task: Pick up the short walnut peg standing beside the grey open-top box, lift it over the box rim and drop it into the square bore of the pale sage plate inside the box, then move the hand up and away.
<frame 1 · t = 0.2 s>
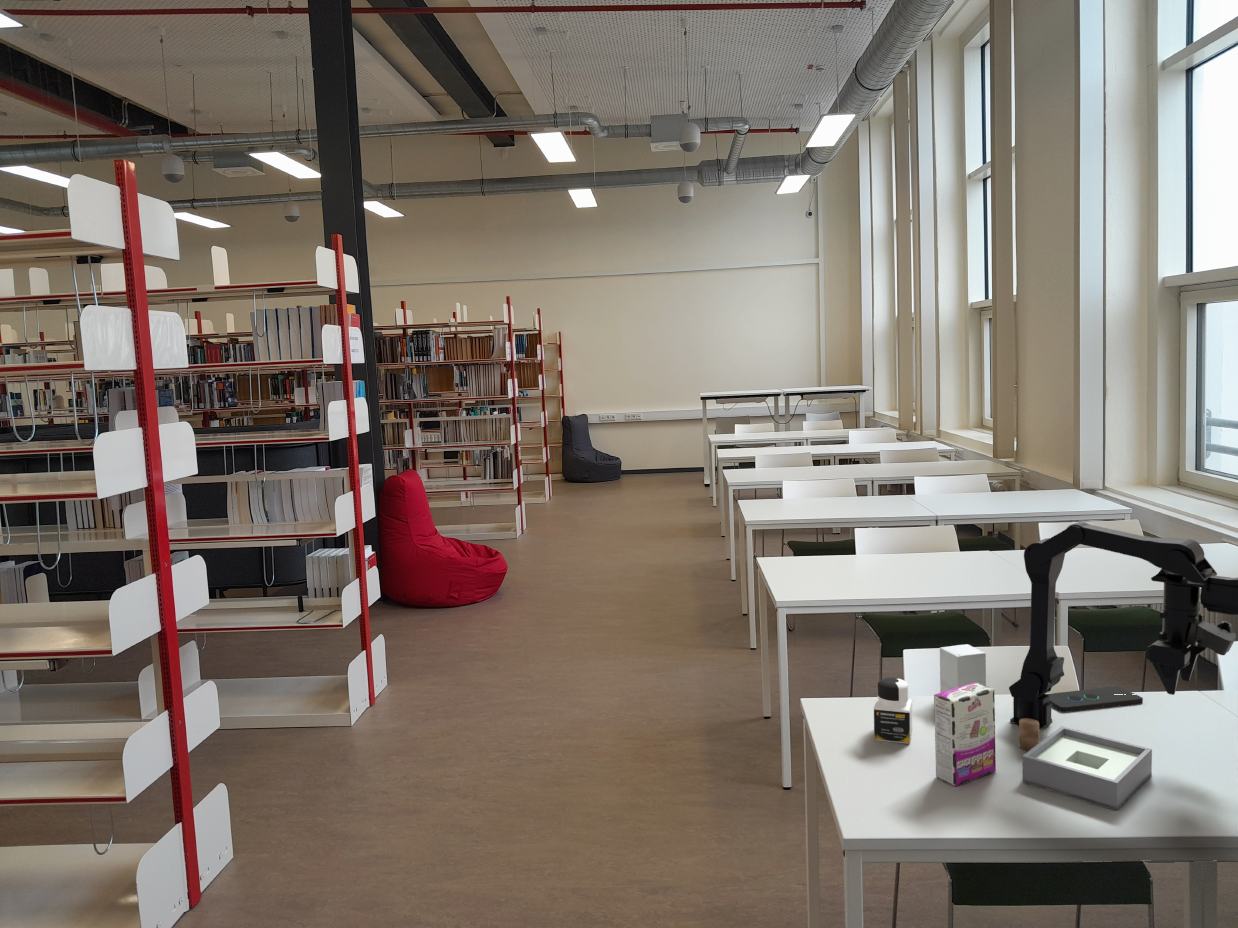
hand: (1178, 687, 168), 14 cm above the table, tool pointing down, fingers open, 9 cm apart
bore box: (1087, 778, 164), on the table
medicine bottle: (893, 736, 186), on the table
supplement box: (962, 704, 202), on the table
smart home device: (1091, 704, 200), on the table
peg: (1029, 748, 178), on the table
candy bar box: (965, 775, 168), on the table
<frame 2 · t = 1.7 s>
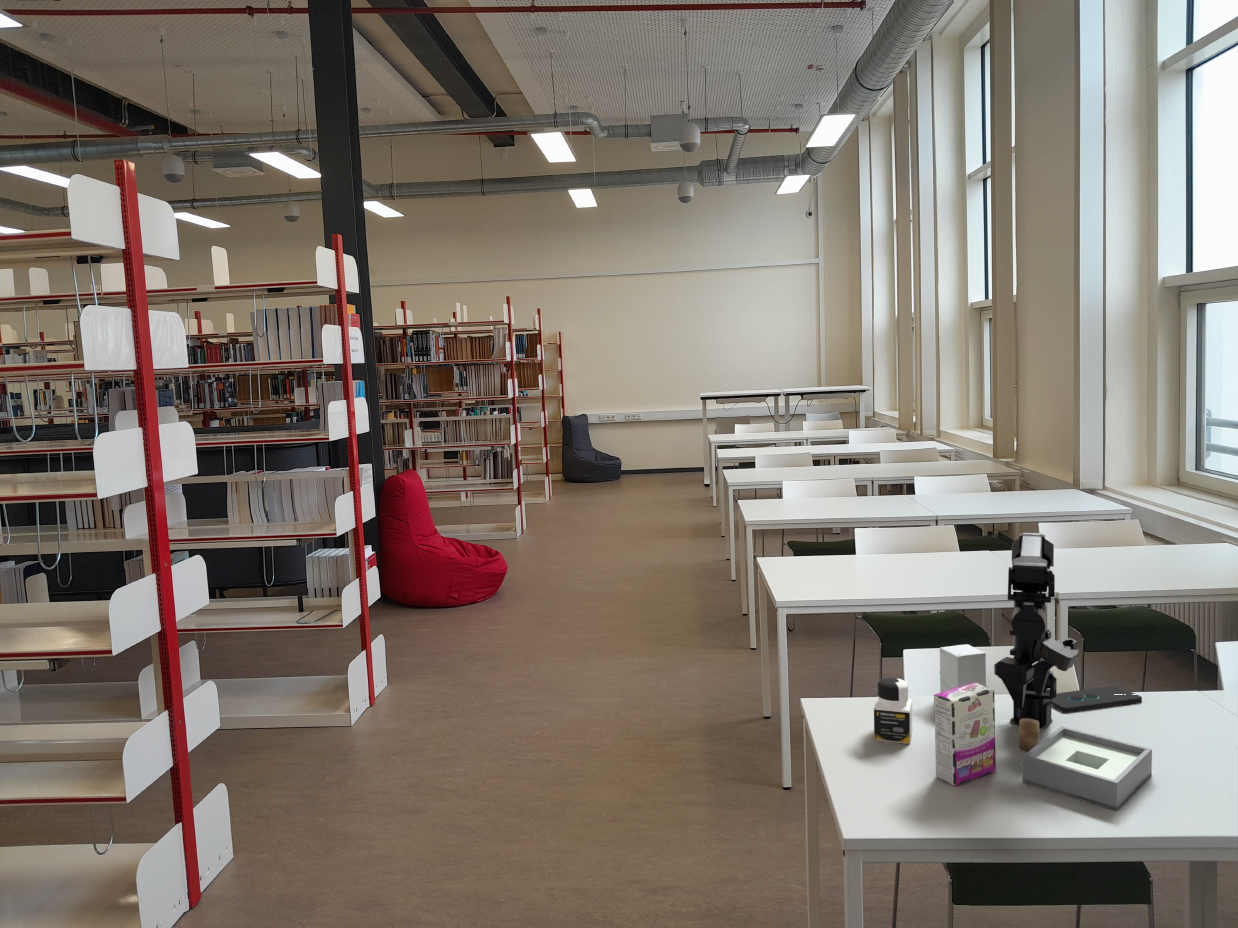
hand: (1029, 700, 177), 10 cm above the table, tool pointing down, fingers open, 9 cm apart
nothing on the table moved.
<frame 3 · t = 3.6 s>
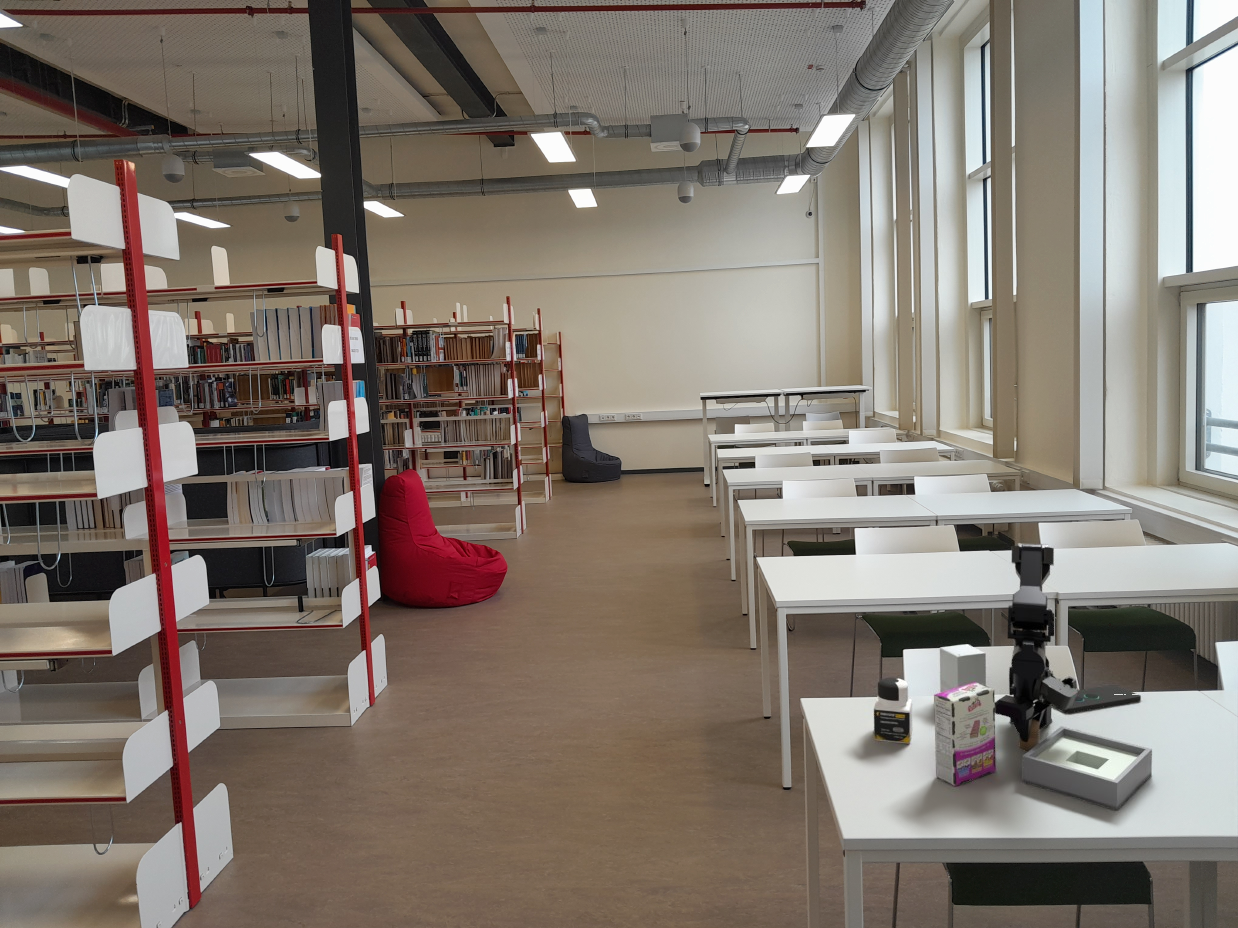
hand: (1029, 738, 177), 2 cm above the table, tool pointing down, fingers closed on peg, 4 cm apart
peg: (1029, 748, 178), on the table, touching gripper
everything else where it was.
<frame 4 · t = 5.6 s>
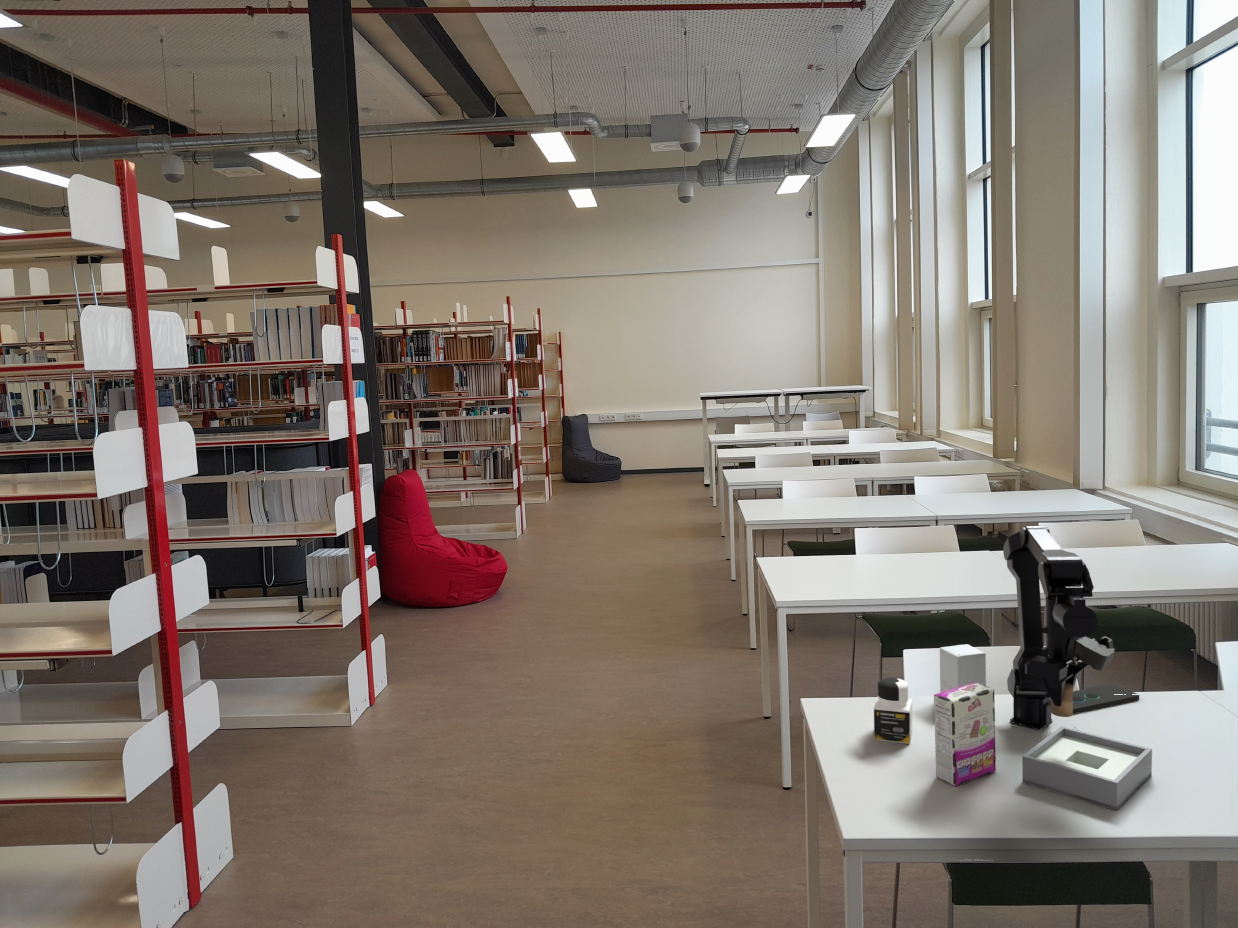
hand: (1062, 702, 168), 12 cm above the table, tool pointing down, fingers closed on peg, 4 cm apart
peg: (1061, 713, 168), point 10 cm above the table, touching gripper
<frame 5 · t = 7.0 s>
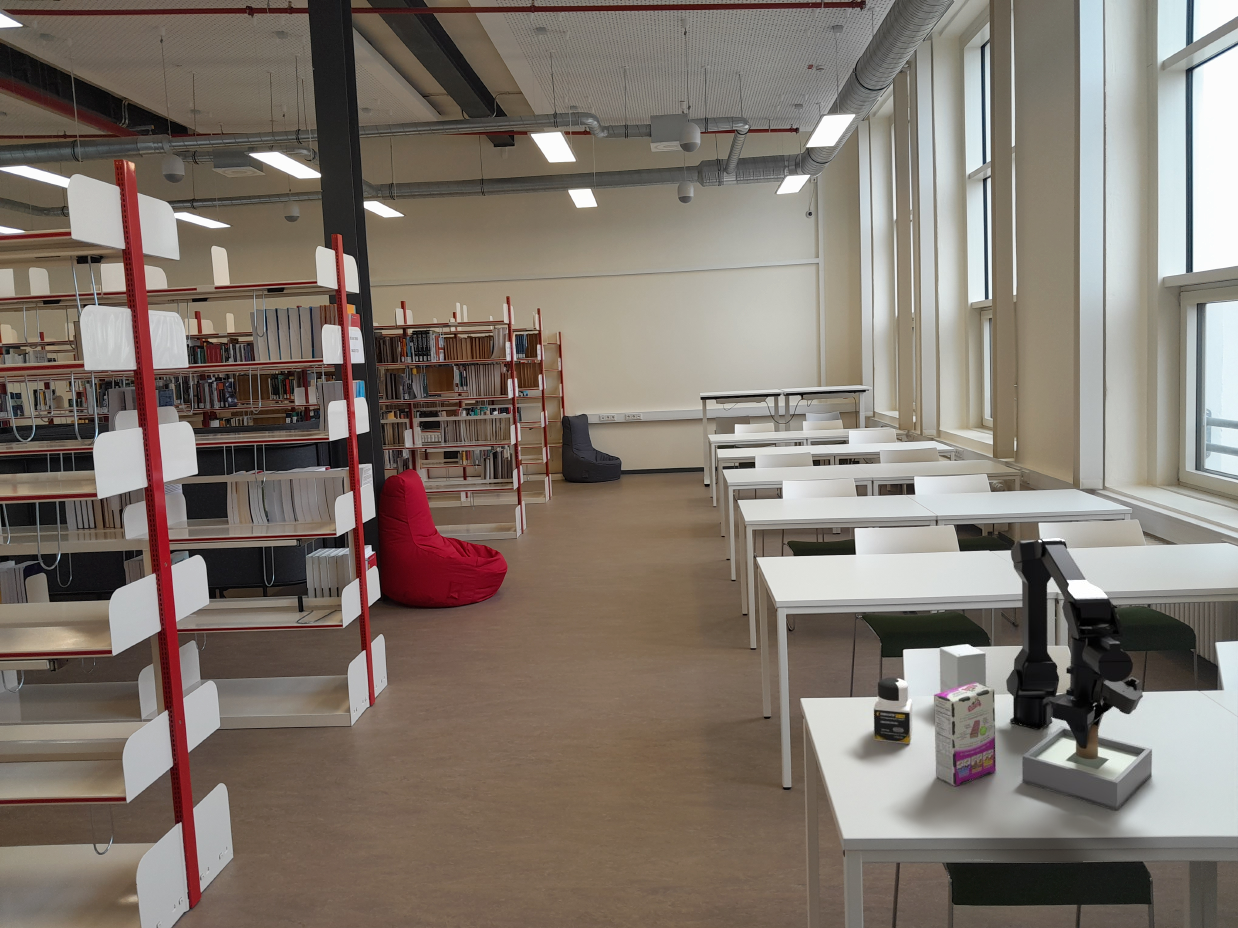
hand: (1087, 744, 163), 6 cm above the table, tool pointing down, fingers closed on peg, 4 cm apart
peg: (1086, 754, 164), point 4 cm above the table, touching gripper
when the fingers open (4 cm above the table, at t = 8.1 s): peg drops 2 cm, resting on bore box.
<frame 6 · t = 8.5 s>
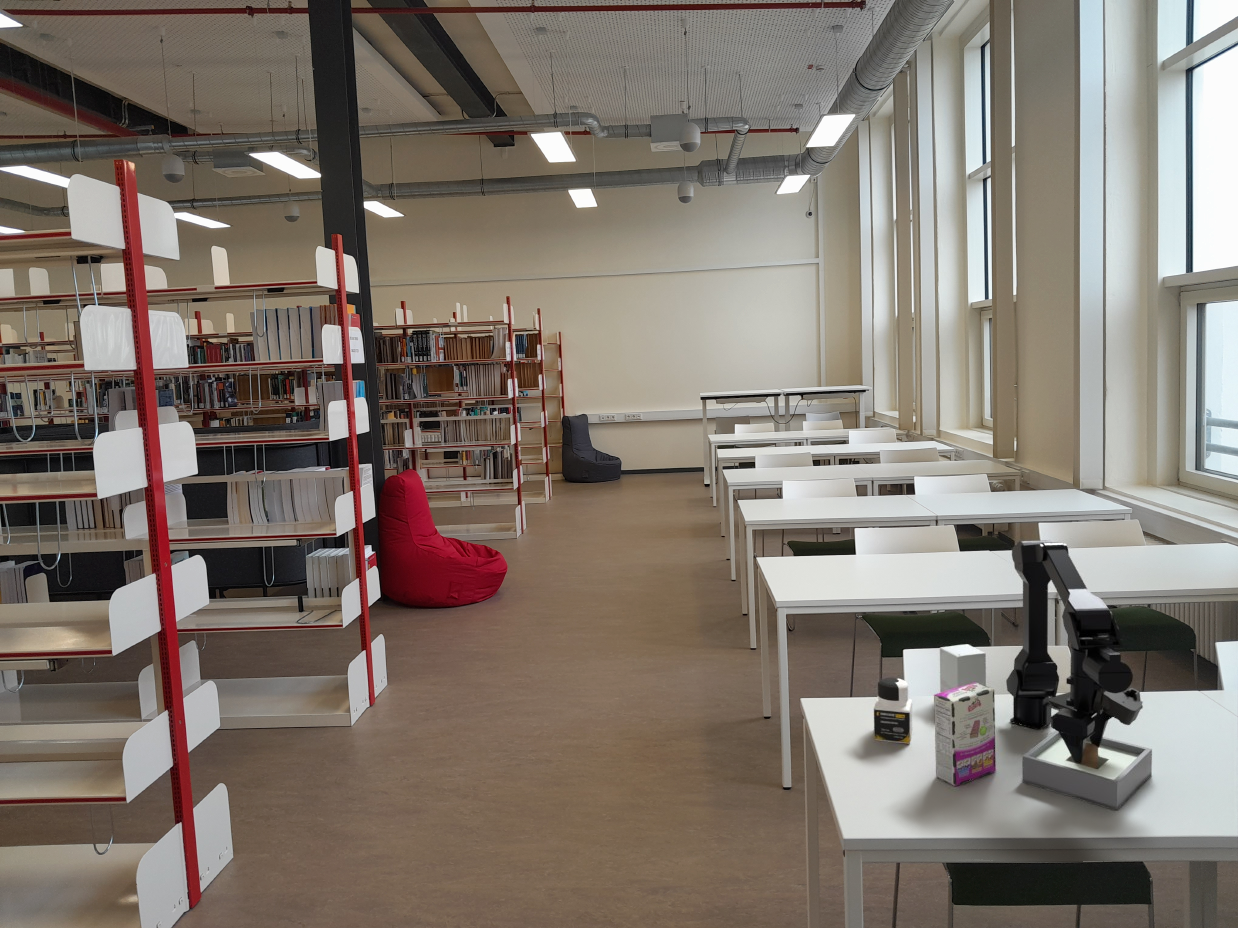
hand: (1087, 754, 164), 4 cm above the table, tool pointing down, fingers open, 8 cm apart
peg: (1086, 775, 164), point 1 cm above the table, touching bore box
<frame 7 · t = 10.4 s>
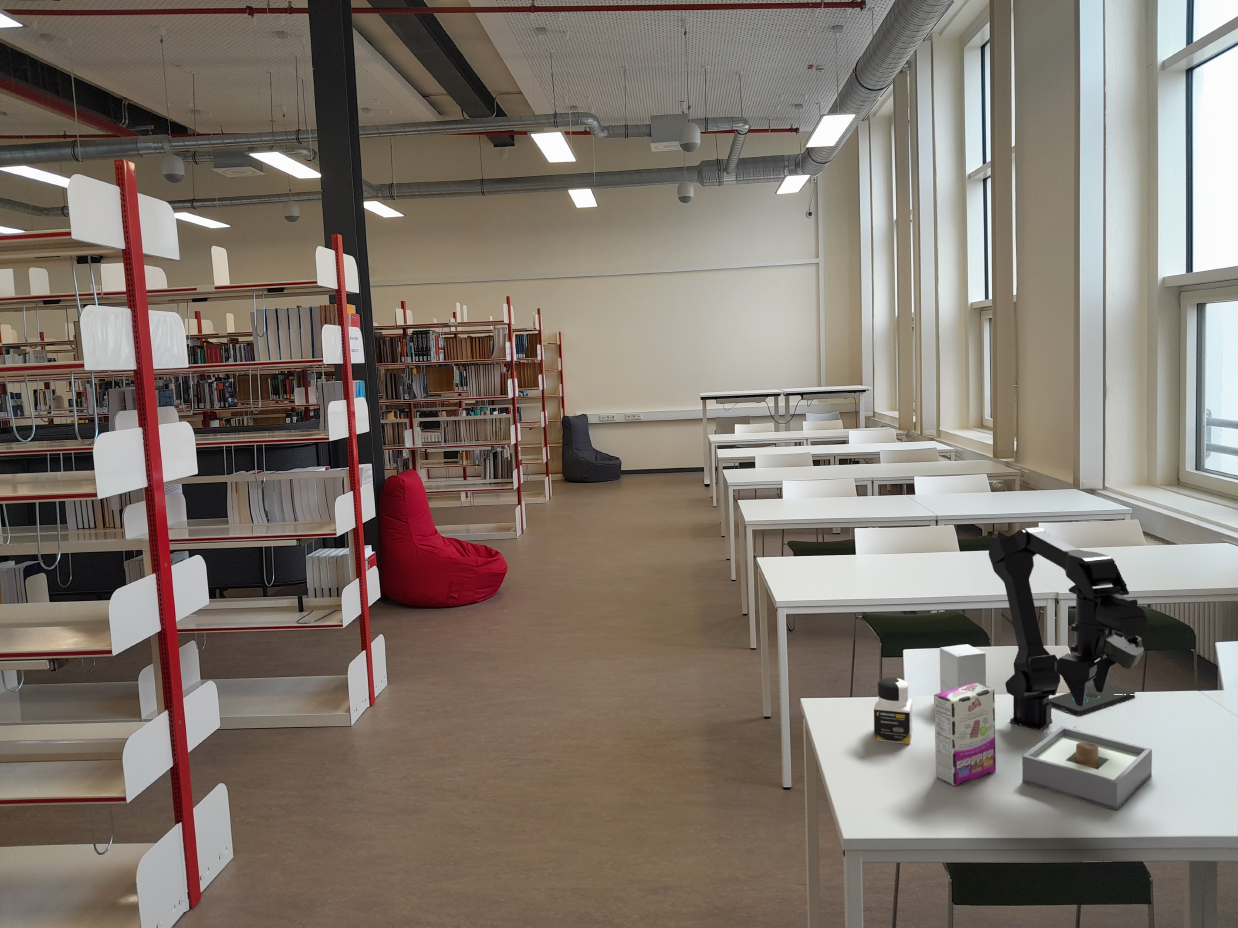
hand: (1090, 698, 172), 12 cm above the table, tool pointing down, fingers open, 9 cm apart
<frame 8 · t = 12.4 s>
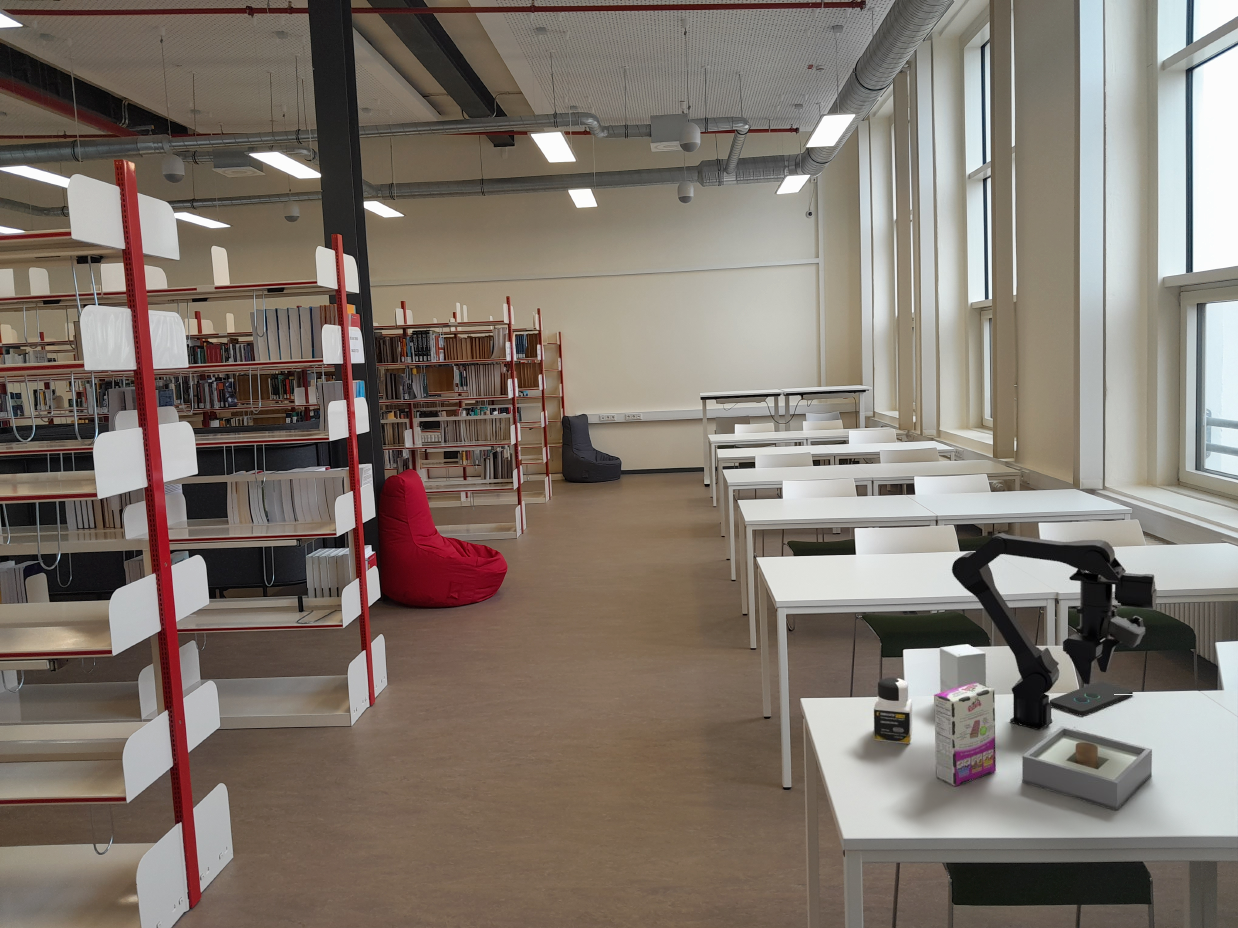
hand: (1095, 677, 181), 12 cm above the table, tool pointing down, fingers open, 9 cm apart
at the end: peg 0.1 cm off-centre on the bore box, point 0.6 cm above the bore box's base; peg tilted 1°; the gripper is holding nothing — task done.
